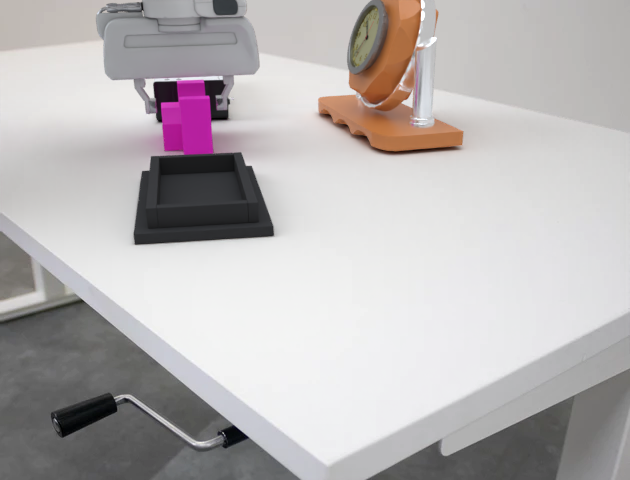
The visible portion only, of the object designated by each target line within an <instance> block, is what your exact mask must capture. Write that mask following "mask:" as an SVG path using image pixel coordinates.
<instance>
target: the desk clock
mask: <svg viewBox="0 0 630 480" xmlns="http://www.w3.org/2000/svg"><path fill="white" fill-rule="evenodd" d="M438 18H439V10H438V9H437V8H436V2H435V0H370V1H368V2H367V3H366V4H365V6H364V7H363V8H362V10H361V12H360V13H359V15H358V17H357V18H356V21H355V23H354V26H353V28H352V31H351V34H350V37H349V41H348V46H347V53H346V63H347V64H346V65H347V69H348V85H349V88H350V89H351V90H352V91H355V93H356V94H342V95H329V96H326V95H325V96H320V97H318V99H317V111H318V114H322V115H324V114H325V115H330V117H331V119H332V121H333V123H334V124H339V125H346V126H347V127H348V129H349V132H350V134H351V135H357V136H365V137H366V138H367V140H368V141H369V144H370V146H371V147H373V148H376V149H378V150H381V151H382V150H383V151H387V152H397V153H398V152H403V151H413V150H427V149H437V148H443V149H444V148H449V147H460V146H463V141H464V131H463V130H461V129H459V128H458V127H455V126H452V125H450V124H448V123H447V122H444V121H442V120H440V119H437V118H435V116H433V107H434V106H433V105H434V90H435V72H436V57H437V41H438V37H437V36H435V33H436V28H437V23H438ZM411 94H412V107H411V106H409V105H407V104H404V103H403V102H404V101H407V100H408V99H409V98H410V97H411Z"/></svg>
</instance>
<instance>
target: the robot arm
mask: <svg viewBox="0 0 630 480" xmlns="http://www.w3.org/2000/svg"><path fill="white" fill-rule="evenodd" d="M105 11H106V12H105ZM247 11H248V3H247V0H141V1H140V2H139V1H137V2H135V1H133V2H125V3H124V2H123V3H118V2H109V3H106V4H105V6H103V7H101V8H100V9H99V10H98V11H97V13H96V16H95V23H96V31H97V34H98V36H99V37H100V39H101V40H102V41H103V47H102V49H103V52H102V53H103V55H102V56H103V69H104V71H103V72H104V74H105V75H106V77H108V78H109V79H110V80H111V81H129V80H133V86H134V90H135V91H136V93H137V94H138V95H139V96H140V98H141V99H142V101H143V102H144V108H145V114H146V115H151V114H156V113H157V106H156V98H154V97H150V96H149V94H148V93H147V92H146V90H145V89H144V88H146V86H147V85H146V80H154V79H158V78H183V77H207V76H223V83H224V84H226V86H225V88H224V90H223V92H222V94H221V95H215V97H216V109H217V110H227V97H229V95H230V93H231V91H232V89H233V88H234V85H235V76H250V75H251V76H252V75H253V76H254V75H255V74H256V73H257V72H258V71H259V69H260V67H261V64H260V53H259V45H258V39H257V35H256V31H255V27H254V26H253V24H252V22H251V21H250V20H249V19H248V18H247V17H246V16H245V15H246V14H247Z"/></svg>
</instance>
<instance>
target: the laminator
mask: <svg viewBox="0 0 630 480" xmlns="http://www.w3.org/2000/svg"><path fill="white" fill-rule="evenodd" d="M178 80H204V85H205V96H209V98H210V111H211V119H229V118H230V117H229V114H230V113H229V105H231V101H234V100H235V98H234V97H233V96H228V97H227V110H217V109H216V97H215V95H221V94H222V92H223V90H224V88H225V86H226V84H224V83H223V76H207V77H183V78H158V79H153V83H152V89H153V98H156V106H157V113H155V118H156V121H157V120H158V121H162V112H161V103H166V102H179V100H178V88H177V81H178Z"/></svg>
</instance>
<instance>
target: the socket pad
mask: <svg viewBox="0 0 630 480" xmlns="http://www.w3.org/2000/svg"><path fill="white" fill-rule="evenodd" d="M149 161H150V162H149V170H142V171H141V173H140V174H141V176H140V182H139V189H138V190H139V191H138V198H137V206H136V214H135V220H134V227H133V229H134V230H133V241H134V244H135V245H142V244H143V245H144V244H158V243H159V244H162V243H176V242H177V243H178V242H191V241H193V242H194V241H207V240H208V241H209V240H225V239H227V240H228V239H242V238H258V237H272V236H275V233H274V230H275V229H274V224H273V222H272V219H271V216H270V212H269V210H268V206H267V204H266V201H265V199H264V195H263V193H262V190H261V188H260V185H259V182H258V179H257V177H256V173H255V171H254V168H253V165H247V164H246V161H245V159H244V156H243V153H242V152H241V151H238V152H237V151H236V152H215V153H214V152H213V153H211V154H189V155H184V154H172V155H170V154H169V155H167V154H166V155H151V156H150V160H149Z"/></svg>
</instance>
